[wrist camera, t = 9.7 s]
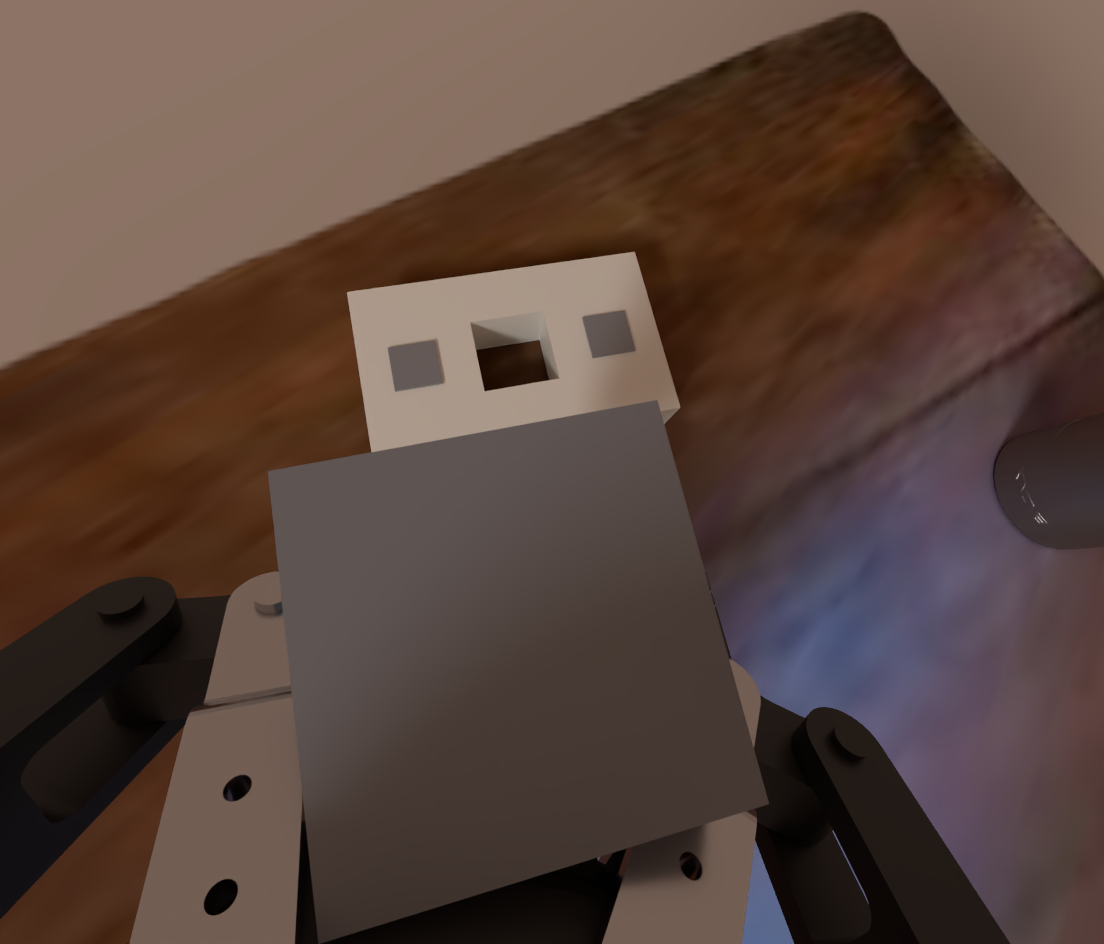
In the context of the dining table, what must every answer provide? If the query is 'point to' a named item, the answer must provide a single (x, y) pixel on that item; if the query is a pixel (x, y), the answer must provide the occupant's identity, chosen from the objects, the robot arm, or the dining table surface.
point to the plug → (500, 662)
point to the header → (497, 320)
